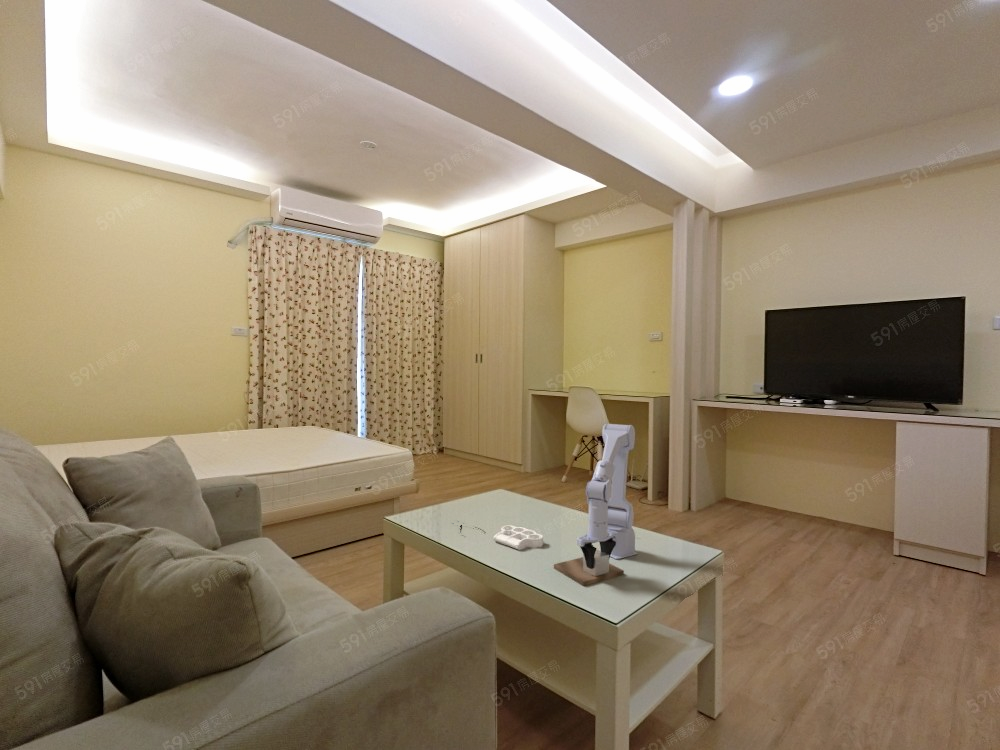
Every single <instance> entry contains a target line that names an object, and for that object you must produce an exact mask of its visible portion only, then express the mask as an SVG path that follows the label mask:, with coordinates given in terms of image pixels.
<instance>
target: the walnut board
mask: <svg viewBox="0 0 1000 750" xmlns="http://www.w3.org/2000/svg"><path fill="white" fill-rule="evenodd" d="M553 569H555V570H556V571H557V572H559V573H561V574H563V575H564V576H566V577H567V578H568V579H571V580H573V581H574V582H576V583H578V584H580V585H581V586H582V587H585V586H589V585H593V584H595V583H600V582H602V581H607V580H609V579H613V578H616V577H620V576H623V575H624V572H625V571H624V569H621V568H619V567H618V566H615V565H614V564H612V563H610V562H609V573H606V574H602V575H599V576H594V575H592V574H590V573H588V572H586V571H584V570H583V556H582V557H578V558H574V559H571V560H570V559H569V560H566V561H562V562H559V563H554V564H553Z"/></svg>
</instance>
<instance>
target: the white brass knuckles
mask: <svg viewBox="0 0 1000 750" xmlns="http://www.w3.org/2000/svg"><path fill="white" fill-rule="evenodd" d="M500 529H501V530H500V531H499V532H498V533H496V534H495V535H494V536H493V538H492V540H493V541H494V542H496V543H500V544H502V545H505V546H508V547H511V548H513V549H516V550H518V551H521V550H523V549H525V548H535V549H536V548H537V549H538V548H541V547H543V545H544V535H543V534H541V533H540V534H539V533H537V532H536V531H535V530H533V529H527V528H526V527H521V526H519V527H518V526H515V525H511V524H510V525H509V524H507V525H504V526H502V527H501V528H500Z"/></svg>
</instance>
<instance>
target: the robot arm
mask: <svg viewBox="0 0 1000 750" xmlns="http://www.w3.org/2000/svg"><path fill="white" fill-rule="evenodd" d="M601 435H602V440H603V443H604V447H603V451H602V458H601V460H599V461H597V463H596V466H595V468H594V472H593V475H592V478H591V480H590V481H588V482H587V483H586V486H585V497H586V503H587V504H586V505H588V517H587V518H588V522H587V523H588V525H587V527H588V528H587V530H588V531H586V534H585V535H583V536H580V537H577V539H576V545H577V546H578V547H580V550H581V551H582V555H583V554H584V557H585V561H586V565H587V567H588V568H590V569H593V565H594V555H595V552H596V549H597V550H598V548H597V547H595V546H594V543H599V548H600V551H601V552H604V553H606V554H608V555H609V559H610V558H612V559H615V560H621V559H624V558H628V557H632V556H635V555H637V554H638V553H637V552H636V533H635V530H634V528H633V525H634V519H635V515H634V506H633V504H632V503H631V502H630V501H628V499H626V493H627V492H626V491H627V481H628V480H627V477H628V461H629V454H630V453H629V452H630V451H631V450H634V449H635V448H634V447H635V441H636V440H635V439H636V430H635V427H634V426H633V424H616V423H609V422H607V423H605V424H604V425H603V426H602V431H601Z"/></svg>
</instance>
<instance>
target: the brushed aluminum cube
mask: <svg viewBox="0 0 1000 750" xmlns="http://www.w3.org/2000/svg"><path fill="white" fill-rule="evenodd" d="M582 555H583V556H582V557H583V570H584V571H586V572H588V573H590V574H592V575H594V576H599V575H602V574H606V573H609V563H610V558H609V555H608V554H606V553H604V552H601V550H599V549H598V548H597V549H596V552H595V555H594V565H593V569H590V568H588V567H587V565H586V561H585V557H584V554H583V553H582Z"/></svg>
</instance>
